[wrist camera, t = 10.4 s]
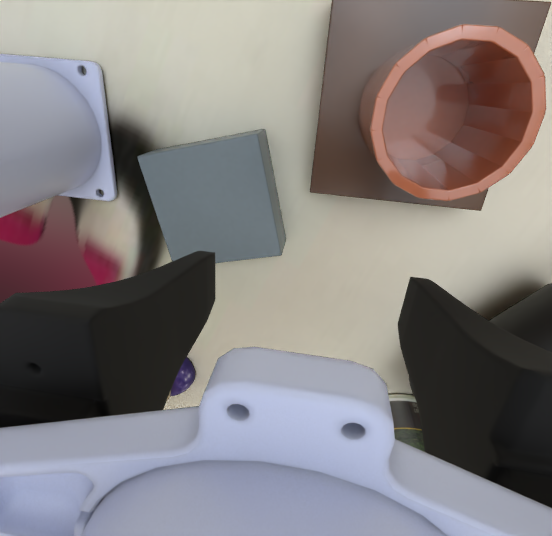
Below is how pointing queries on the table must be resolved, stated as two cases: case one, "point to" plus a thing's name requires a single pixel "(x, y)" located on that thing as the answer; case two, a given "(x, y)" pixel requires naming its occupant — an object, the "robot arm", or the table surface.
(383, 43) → the walnut block
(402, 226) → the table surface
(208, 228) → the grey block
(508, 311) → the end cap
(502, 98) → the cup
